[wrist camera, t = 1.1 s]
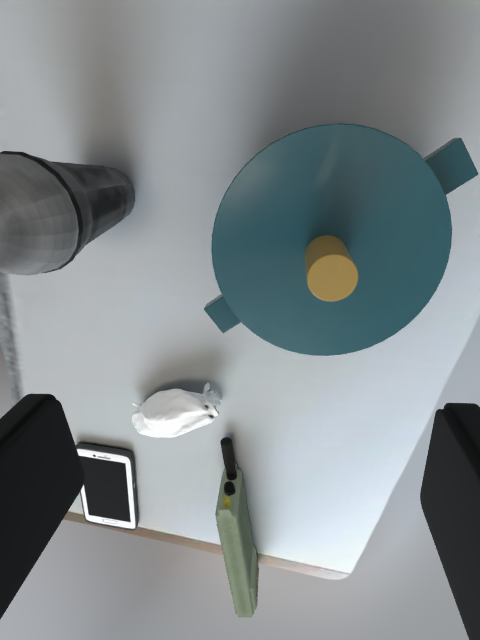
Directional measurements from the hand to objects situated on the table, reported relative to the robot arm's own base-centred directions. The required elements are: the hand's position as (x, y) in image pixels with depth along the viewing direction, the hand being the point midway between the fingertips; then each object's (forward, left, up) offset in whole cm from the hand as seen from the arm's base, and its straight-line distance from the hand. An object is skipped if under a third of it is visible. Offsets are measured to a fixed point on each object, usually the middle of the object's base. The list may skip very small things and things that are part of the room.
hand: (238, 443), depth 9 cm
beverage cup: (-5, -15, -26) cm, 30 cm away
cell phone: (+32, -25, -26) cm, 48 cm away
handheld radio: (+35, -8, -26) cm, 44 cm away
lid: (0, +3, -17) cm, 17 cm away
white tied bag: (+18, -13, -26) cm, 34 cm away
